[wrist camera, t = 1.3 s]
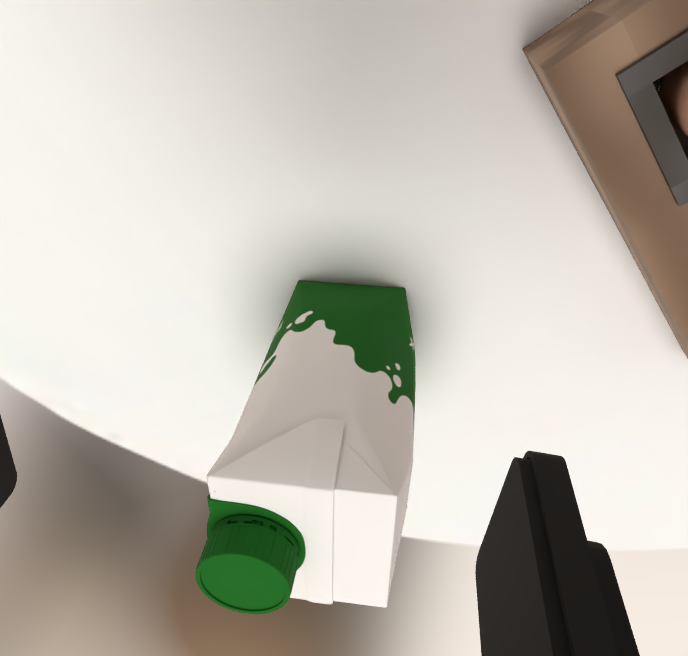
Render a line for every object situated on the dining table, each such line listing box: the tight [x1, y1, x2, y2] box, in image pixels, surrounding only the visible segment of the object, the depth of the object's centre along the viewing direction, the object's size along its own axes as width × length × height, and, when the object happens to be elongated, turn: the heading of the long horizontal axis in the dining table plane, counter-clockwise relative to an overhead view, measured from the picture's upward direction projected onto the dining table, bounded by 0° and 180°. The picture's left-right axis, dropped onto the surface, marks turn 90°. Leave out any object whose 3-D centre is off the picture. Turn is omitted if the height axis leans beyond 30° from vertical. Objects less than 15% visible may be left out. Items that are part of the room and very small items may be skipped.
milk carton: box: [196, 281, 415, 614], centre depth 32 cm, size 9×9×20 cm
